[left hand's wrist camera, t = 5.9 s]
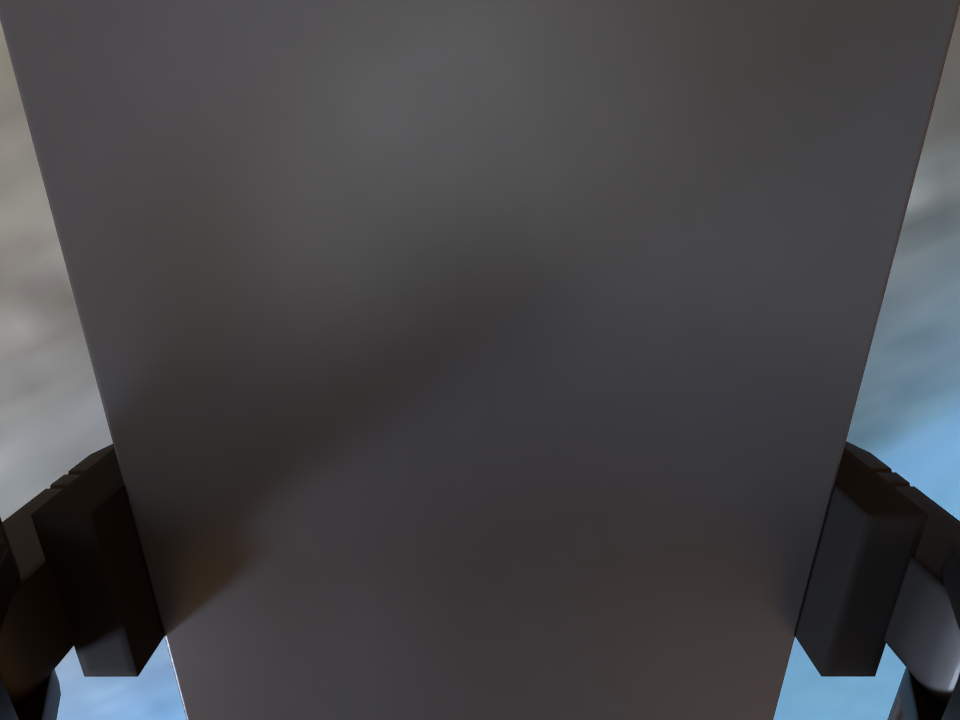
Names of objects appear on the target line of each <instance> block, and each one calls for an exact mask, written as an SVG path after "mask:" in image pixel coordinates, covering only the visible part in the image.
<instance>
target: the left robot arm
mask: <svg viewBox="0 0 960 720" xmlns="http://www.w3.org/2000/svg"><path fill="white" fill-rule="evenodd" d="M909 484H910V483H909V482H908V481H906V480H905V479H904V478H902V477H901V476H900V475H898V474H897V473H896V472H892V471H891V468H889V467H888V466H887V465H885V464H884V463H883V462H881V461H880V460H879V459H877V458H876V457H875V456H874V455H872V454H871V453H869V452H867V451H865V450H863V449H861V448H859V447H857V446H855V445H853V444H851V443H848V442H845V446H844V450H843V454H842V458H841V461H840V465H839V469H838V473H837V477H836V480H835V484H834V488H833V492H832V496H831V500H830V503H829V507H828V511H827V515H826V519H825V523H824V526H823V530H822V534H821V538H820V542H819V546H818V549H817V553H816V557H815V561H814V565H813V569H812V572H811V576H810V580H809V584H808V588H807V592H806V595H805V599H804V603H803V607H802V611H801V615H800V618H799V622H798V626H797V630H796V634H795V637H796V638H797V640H798V641H799V643H800V644H801V646H802V647H803V649H804V650H805V652H806V653H807V655H808V657H809V658H810V660H811V661H812V663H813V664H814V666H815V667H816V669H817V670H818V672H819V673H820V675H821V676H875V675H876V672H877V669H878V666H879V663H880V660H881V657H882V654H883V651H884V648H885V645H886V643H887V644H888V646H889V647H890V648H891V649H892V650H893V652H894V653H895V654H896V655H897V656H898V658H899V659H900V660H901V661H902V662H903V664H904V665H905V666H906V669H905V672H904V675H903V678H902V680H901V683H900V686H899V689H898V692H897V695H896V697H895V700H894V703H893V706H892V709H891V711H890V714H889V717H888V720H960V521H959V520H957V519H956V518H955V517H953V516H952V515H951V514H950V513H948V512H947V511H946V510H944V509H943V508H942V507H940V506H939V505H938V504H936V503H935V502H934V501H933V500H931V499H930V498H929V497H927V496H926V495H925V494H923V493H922V492H921V491H919V490H918V489H917V488H915V487H910V485H909ZM50 486H51V487H50V489H45V490H44V491H42V492H41V493H40V494H38V495H37V496H36V497H35V498H33V499H32V500H31V501H29V502H28V503H27V504H25V505H24V506H23V507H22V508H20V509H19V510H18V511H16V512H15V513H14V514H12V515H11V516H10V517H9V518H7V519H6V520H5V521H3V522H2V521H1V518H0V720H56V719H57V713H58V707H59V701H60V695H61V692H60V685H59V680H58V678H57V675H56V672H55V667H56V666H57V665H58V664H59V663H60V661H61V660H62V659H63V658H64V657H65V655H66V654H67V653H68V652H69V651H70V649H71V648H72V647H73V646H74V647H75V650H76V652H77V655H78V658H79V661H80V664H81V667H82V670H83V673H84V676H139V674H140V673H141V671H142V669H143V668H144V666H145V665H146V663H147V662H148V660H149V659H150V657H151V656H152V654H153V653H154V651H155V650H156V648H157V647H158V645H159V643H160V642H161V640H162V639H163V637H164V632H163V628H162V625H161V621H160V617H159V613H158V609H157V606H156V602H155V598H154V594H153V591H152V587H151V583H150V579H149V576H148V572H147V568H146V564H145V561H144V557H143V553H142V549H141V546H140V542H139V538H138V534H137V531H136V527H135V523H134V519H133V516H132V512H131V508H130V504H129V501H128V497H127V493H126V489H125V486H124V482H123V478H122V474H121V471H120V467H119V463H118V459H117V455H116V452H115V448H114V444H112V445H109V446H107V447H105V448H103V449H101V450H99V451H97V452H95V453H93V454H91V455H89V456H88V457H87V458H85V459H84V460H83V461H81V462H80V463H79V464H77V465H76V466H75V467H74V468H72V469H71V470H70V471H69V473H68V475H63V476H62V477H61V478H59V479H58V480H57V481H55V482H54V483H53V484H51V485H50Z"/></svg>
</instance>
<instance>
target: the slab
mask: <svg viewBox="0 0 960 720" xmlns="http://www.w3.org/2000/svg"><path fill="white" fill-rule="evenodd" d="M959 5H960V0H0V20H1V24H2V27H3V31H4V35H5V39H6V42H7V46H8V50H9V54H10V57H11V61H12V65H13V69H14V72H15V76H16V80H17V84H18V87H19V91H20V95H21V99H22V102H23V106H24V110H25V114H26V117H27V121H28V125H29V129H30V132H31V136H32V140H33V144H34V147H35V151H36V155H37V159H38V162H39V166H40V170H41V174H42V178H43V181H44V185H45V189H46V193H47V196H48V200H49V204H50V208H51V211H52V215H53V219H54V223H55V226H56V230H57V234H58V238H59V241H60V245H61V249H62V253H63V256H64V260H65V264H66V268H67V271H68V275H69V279H70V283H71V286H72V290H73V294H74V298H75V301H76V305H77V309H78V313H79V316H80V320H81V324H82V328H83V332H84V335H85V339H86V343H87V347H88V350H89V354H90V358H91V362H92V365H93V369H94V373H95V377H96V380H97V384H98V388H99V392H100V395H101V399H102V403H103V407H104V410H105V414H106V418H107V422H108V425H109V429H110V433H111V437H112V440H113V444H114V448H115V452H116V455H117V459H118V463H119V467H120V471H121V474H122V478H123V482H124V486H125V489H126V493H127V497H128V501H129V504H130V508H131V512H132V516H133V519H134V523H135V527H136V531H137V534H138V538H139V542H140V546H141V549H142V553H143V557H144V561H145V564H146V568H147V572H148V576H149V579H150V583H151V587H152V591H153V594H154V598H155V602H156V606H157V609H158V613H159V617H160V621H161V625H162V628H163V632H164V636H165V640H166V643H167V647H168V651H169V655H170V658H171V662H172V666H173V670H174V673H175V677H176V681H177V685H178V688H179V692H180V696H181V700H182V703H183V707H184V711H185V715H186V718H187V720H773V718H774V714H775V710H776V707H777V703H778V699H779V695H780V691H781V687H782V684H783V680H784V676H785V672H786V668H787V664H788V661H789V657H790V653H791V649H792V645H793V641H794V638H795V634H796V630H797V626H798V622H799V618H800V615H801V611H802V607H803V603H804V599H805V595H806V592H807V588H808V584H809V580H810V576H811V572H812V569H813V565H814V561H815V557H816V553H817V549H818V546H819V542H820V538H821V534H822V530H823V526H824V523H825V519H826V515H827V511H828V507H829V503H830V500H831V496H832V492H833V488H834V484H835V480H836V477H837V473H838V469H839V465H840V461H841V458H842V454H843V450H844V446H845V442H846V438H847V435H848V431H849V427H850V423H851V419H852V415H853V412H854V408H855V404H856V400H857V396H858V392H859V389H860V385H861V381H862V377H863V373H864V369H865V366H866V362H867V358H868V354H869V350H870V346H871V343H872V339H873V335H874V331H875V327H876V323H877V320H878V316H879V312H880V308H881V304H882V300H883V297H884V293H885V289H886V285H887V281H888V277H889V274H890V270H891V266H892V262H893V258H894V254H895V251H896V247H897V243H898V239H899V235H900V231H901V228H902V224H903V220H904V216H905V212H906V209H907V205H908V201H909V197H910V193H911V189H912V186H913V182H914V178H915V174H916V170H917V166H918V163H919V159H920V155H921V151H922V147H923V143H924V140H925V136H926V132H927V128H928V124H929V120H930V117H931V113H932V109H933V105H934V101H935V97H936V94H937V90H938V86H939V82H940V78H941V74H942V71H943V67H944V63H945V59H946V55H947V51H948V48H949V44H950V40H951V36H952V32H953V28H954V25H955V21H956V17H957V13H958V9H959Z"/></svg>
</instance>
